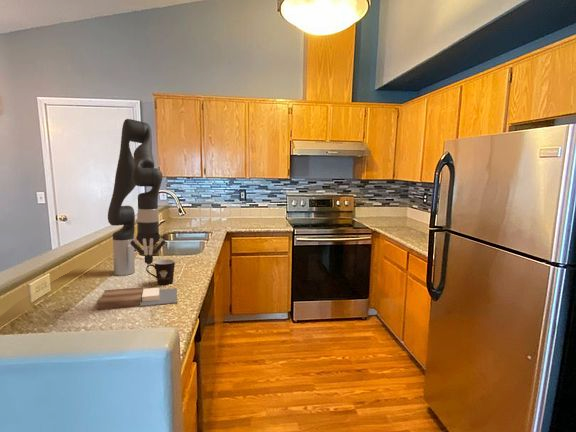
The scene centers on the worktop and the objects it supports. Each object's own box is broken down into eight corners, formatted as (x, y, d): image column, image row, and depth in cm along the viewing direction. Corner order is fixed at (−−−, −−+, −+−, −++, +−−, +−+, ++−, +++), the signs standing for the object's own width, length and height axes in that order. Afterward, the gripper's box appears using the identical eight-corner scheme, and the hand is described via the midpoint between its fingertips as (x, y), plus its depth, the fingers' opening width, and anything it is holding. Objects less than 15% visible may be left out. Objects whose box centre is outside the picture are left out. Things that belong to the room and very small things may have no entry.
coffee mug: (179, 281, 149) (178, 260, 148) (167, 287, 141) (167, 265, 139) (157, 278, 152) (157, 257, 151) (145, 284, 144) (144, 262, 142)
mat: (143, 292, 134) (143, 290, 134) (176, 289, 138) (176, 288, 138) (140, 306, 119) (140, 305, 119) (177, 303, 123) (177, 301, 123)
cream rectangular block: (143, 293, 131) (143, 289, 131) (159, 292, 133) (159, 287, 133) (142, 301, 122) (141, 296, 122) (159, 300, 125) (158, 295, 124)
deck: (105, 296, 128) (105, 290, 128) (143, 292, 133) (143, 287, 133) (97, 310, 115) (97, 303, 115) (140, 305, 120) (140, 299, 120)
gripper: (166, 218, 129) (167, 260, 132) (130, 218, 125) (131, 262, 127) (166, 221, 122) (166, 265, 125) (127, 221, 118) (128, 267, 120)
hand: (148, 263), depth 126 cm, fingers closed
